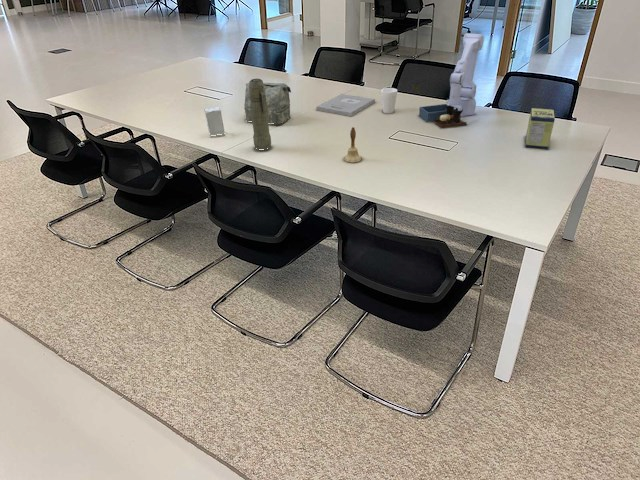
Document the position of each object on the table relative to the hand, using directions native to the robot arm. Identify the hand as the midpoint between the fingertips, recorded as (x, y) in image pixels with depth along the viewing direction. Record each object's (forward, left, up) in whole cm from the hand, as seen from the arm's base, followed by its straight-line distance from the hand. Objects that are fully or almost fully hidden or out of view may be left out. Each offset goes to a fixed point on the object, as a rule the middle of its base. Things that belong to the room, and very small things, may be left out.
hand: (452, 119), depth 273 cm
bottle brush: (+2, 0, +2) cm, 2 cm away
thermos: (+107, +1, -3) cm, 107 cm away
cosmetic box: (+129, -26, -3) cm, 132 cm away
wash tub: (+4, -13, -2) cm, 13 cm away
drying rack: (+1, 0, -2) cm, 3 cm away
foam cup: (+26, -31, -3) cm, 41 cm away
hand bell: (+67, +29, -3) cm, 73 cm away
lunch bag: (+97, -41, -3) cm, 105 cm away
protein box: (-27, +39, -3) cm, 47 cm away
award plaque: (+47, -50, -3) cm, 69 cm away
